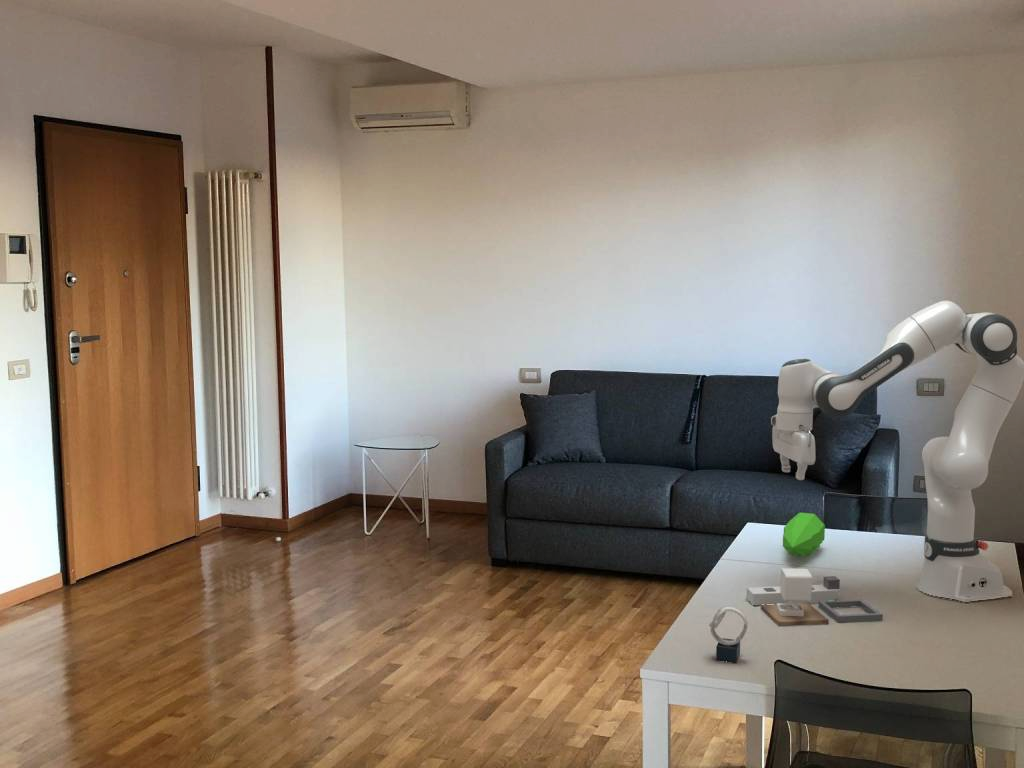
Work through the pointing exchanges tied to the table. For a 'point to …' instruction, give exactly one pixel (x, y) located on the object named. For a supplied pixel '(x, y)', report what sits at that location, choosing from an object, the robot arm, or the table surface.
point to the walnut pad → (809, 616)
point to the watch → (727, 647)
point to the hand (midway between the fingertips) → (792, 475)
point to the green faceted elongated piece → (803, 534)
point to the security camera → (794, 590)
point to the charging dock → (872, 615)
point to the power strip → (774, 596)
